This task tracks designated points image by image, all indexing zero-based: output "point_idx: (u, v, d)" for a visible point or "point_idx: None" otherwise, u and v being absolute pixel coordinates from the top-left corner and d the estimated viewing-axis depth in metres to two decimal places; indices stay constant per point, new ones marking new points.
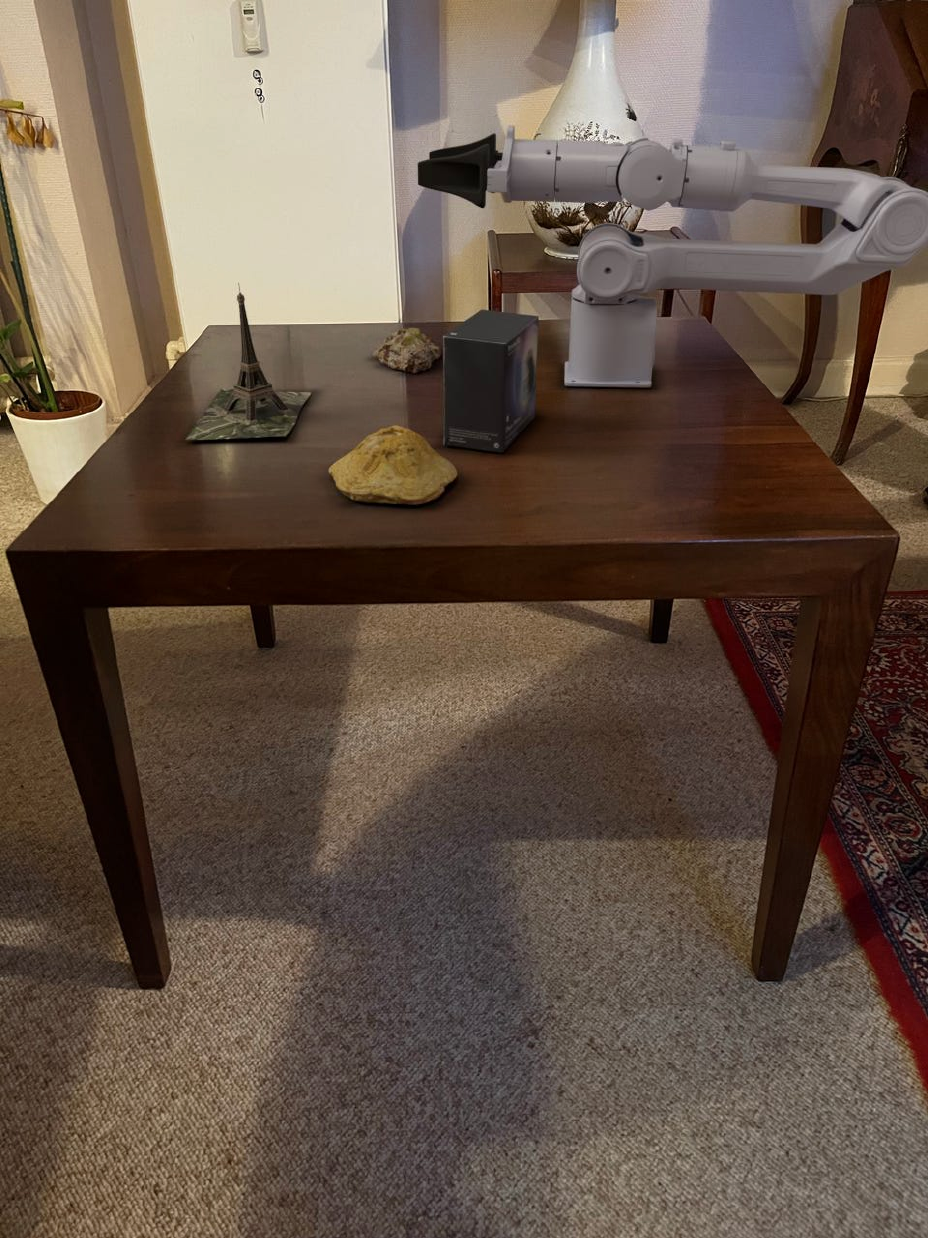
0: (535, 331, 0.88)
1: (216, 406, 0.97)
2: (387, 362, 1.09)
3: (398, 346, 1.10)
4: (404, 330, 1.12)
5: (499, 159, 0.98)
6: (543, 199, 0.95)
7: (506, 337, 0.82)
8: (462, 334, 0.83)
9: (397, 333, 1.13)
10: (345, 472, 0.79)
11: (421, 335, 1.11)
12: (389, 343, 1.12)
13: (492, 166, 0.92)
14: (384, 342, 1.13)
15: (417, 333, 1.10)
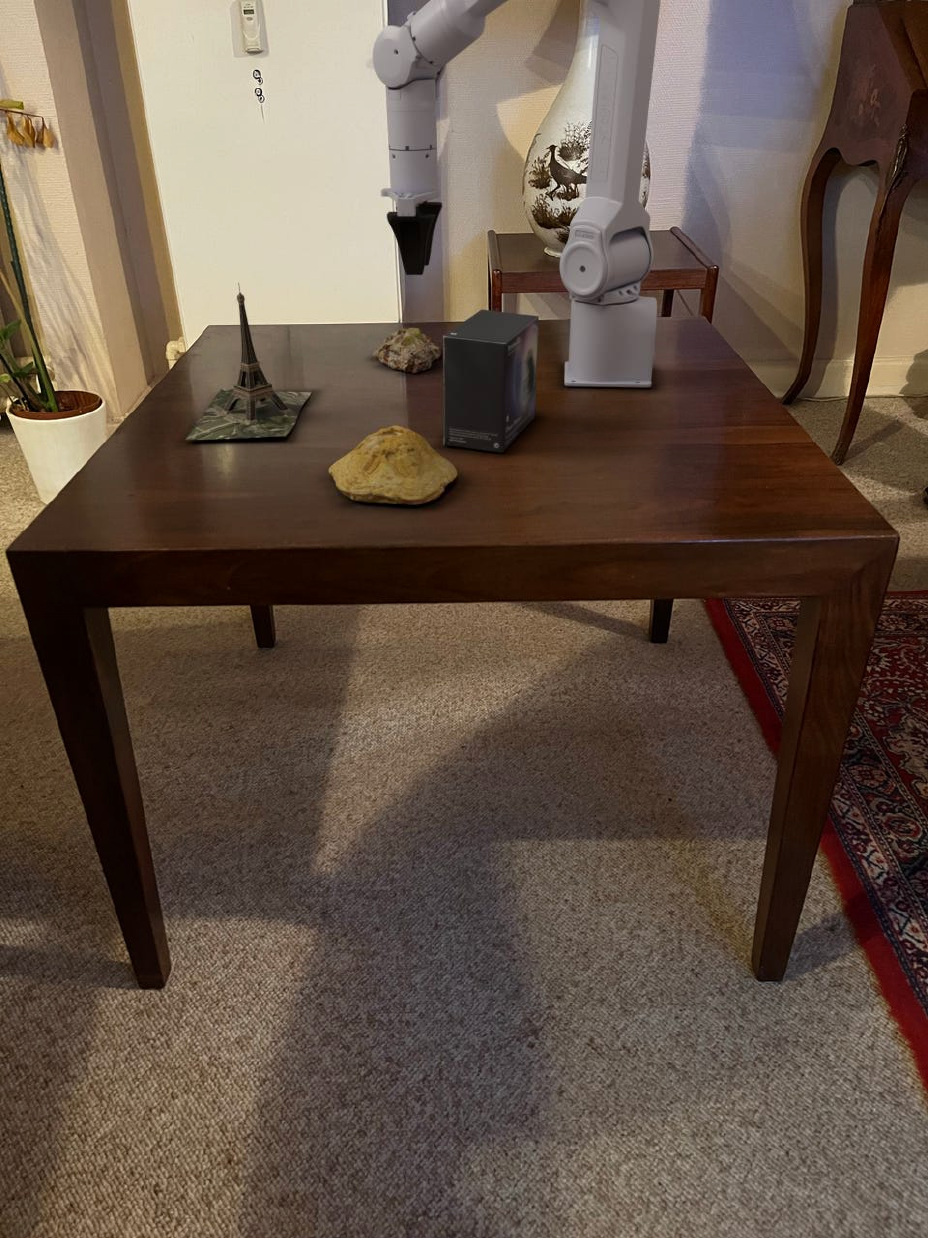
0: (535, 331, 0.88)
1: (216, 406, 0.97)
2: (387, 362, 1.09)
3: (398, 346, 1.10)
4: (404, 330, 1.12)
5: None
6: (432, 159, 1.08)
7: (506, 337, 0.82)
8: (462, 334, 0.83)
9: (397, 333, 1.13)
10: (345, 472, 0.79)
11: (421, 335, 1.11)
12: (389, 343, 1.12)
13: None
14: (384, 342, 1.13)
15: (417, 333, 1.10)
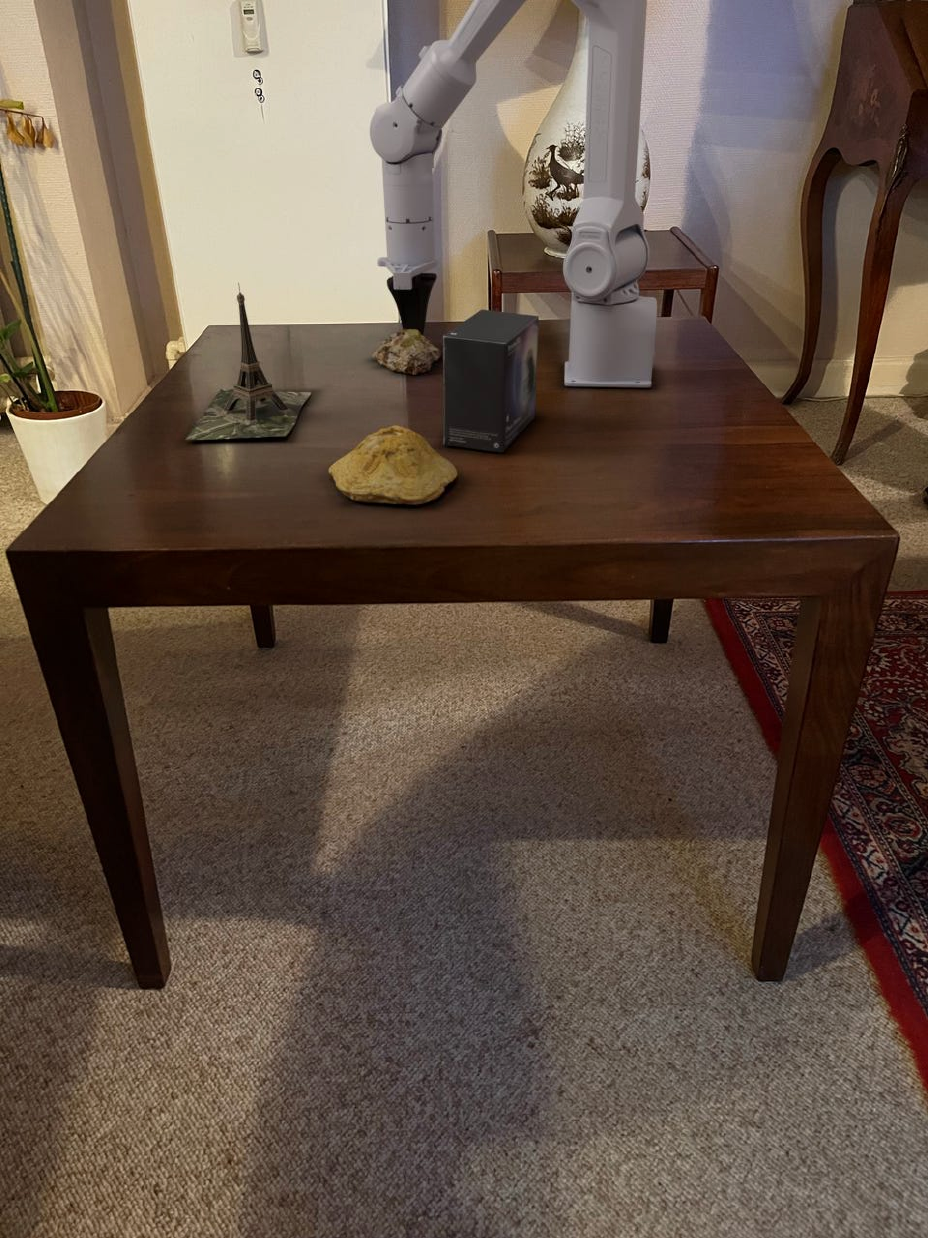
0: (535, 331, 0.88)
1: (216, 406, 0.97)
2: (386, 364, 1.08)
3: (397, 348, 1.09)
4: (403, 331, 1.12)
5: None
6: (428, 231, 1.08)
7: (506, 337, 0.82)
8: (462, 334, 0.83)
9: (396, 334, 1.12)
10: (345, 472, 0.79)
11: (420, 337, 1.10)
12: (388, 345, 1.12)
13: None
14: (383, 344, 1.12)
15: (417, 334, 1.10)
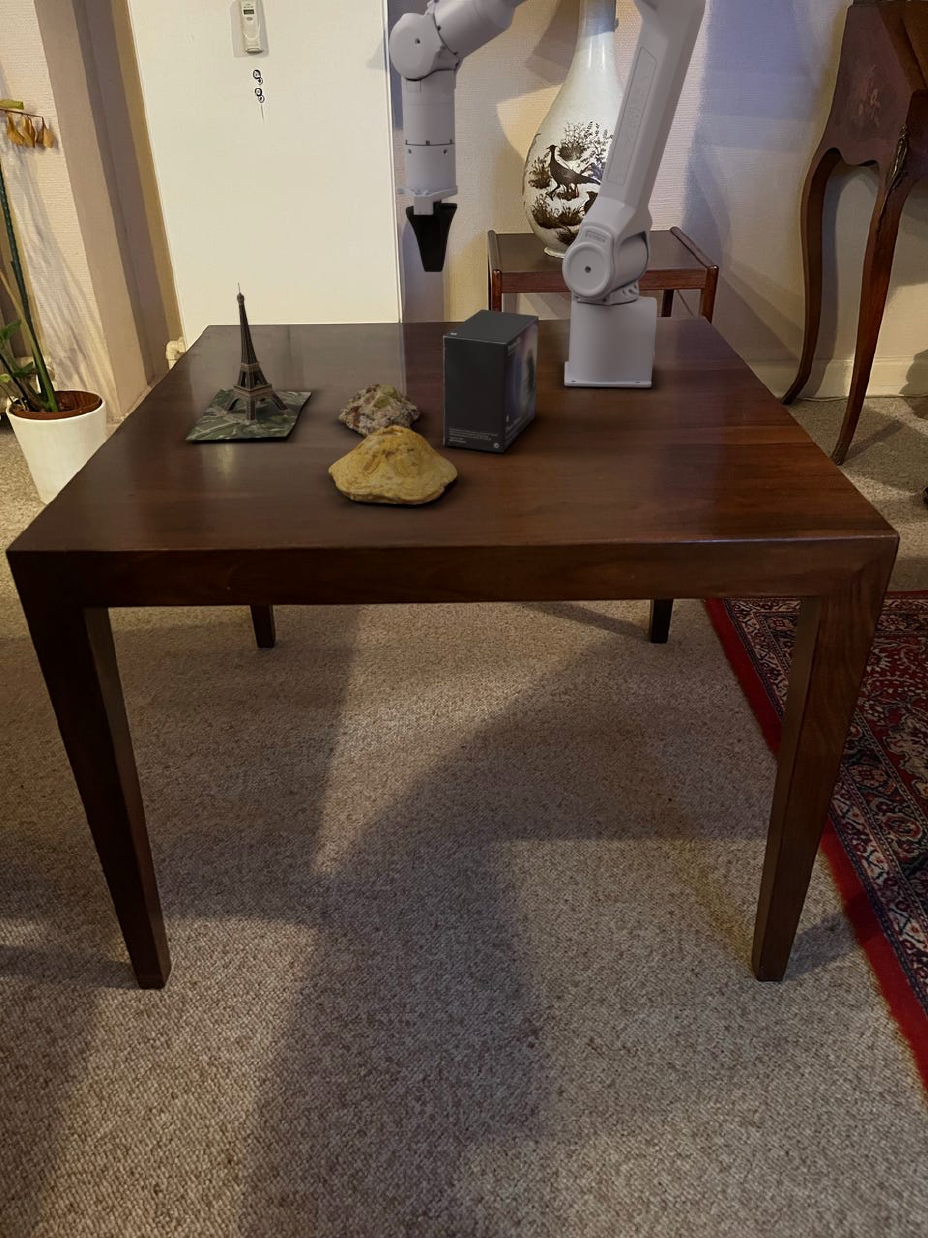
0: (535, 331, 0.88)
1: (216, 406, 0.97)
2: (358, 428, 0.91)
3: (370, 408, 0.91)
4: (374, 387, 0.94)
5: None
6: (450, 154, 1.03)
7: (506, 337, 0.82)
8: (462, 334, 0.83)
9: (365, 391, 0.94)
10: (345, 472, 0.79)
11: (396, 394, 0.93)
12: (357, 404, 0.94)
13: None
14: (350, 402, 0.95)
15: (391, 391, 0.92)
